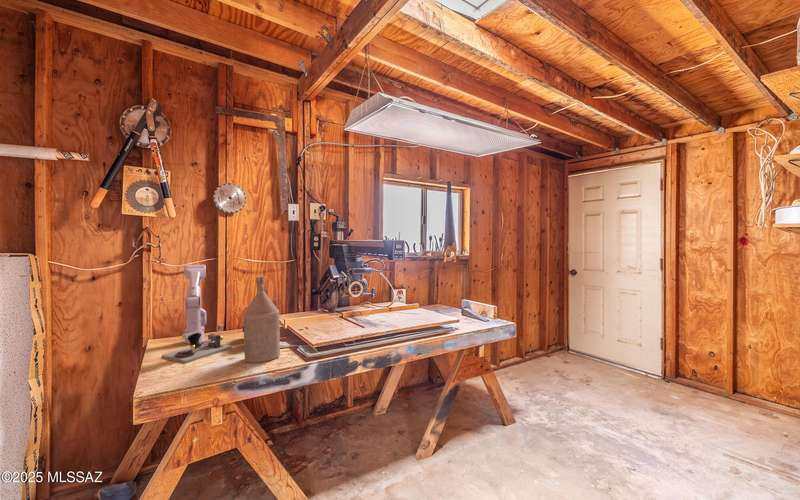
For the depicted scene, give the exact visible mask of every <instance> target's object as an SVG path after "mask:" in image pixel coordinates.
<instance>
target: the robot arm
mask: <svg viewBox="0 0 800 500" xmlns="http://www.w3.org/2000/svg"><path fill="white" fill-rule="evenodd" d="M206 269H207V266H206V264H204V263H203V264H185V265H184V266H183V274H184V277H185V279H186V280H189V286H188V287H187V288H186V298H185V299H184V307H185V327H186V328H185V330H184V333H183V334H182V335H181V339H182V340H184V341H183V344H184V343H185V344H189V345H190V346H189V347H191V345H193V344H195V349H197V347H198V342H199V341H200V342H202V341H206V340H207V339H205V325H207V311H206V309H204V308H202V295H201V293H202V291H201V281H202V280H203V279H205V278H206V275H207V271H206Z"/></svg>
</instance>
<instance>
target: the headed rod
mask: <svg viewBox="0 0 800 500" xmlns="http://www.w3.org/2000/svg"><path fill="white" fill-rule="evenodd" d="M223 339H224V336H222V335H220V341H222V340H223ZM205 340H206V341H202V342H200V341H199V342H198V347H197V348H199V347H201V346H203V345H206V344H210V343H213V342H214V338H213V339H209V340H208V339H205Z"/></svg>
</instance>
